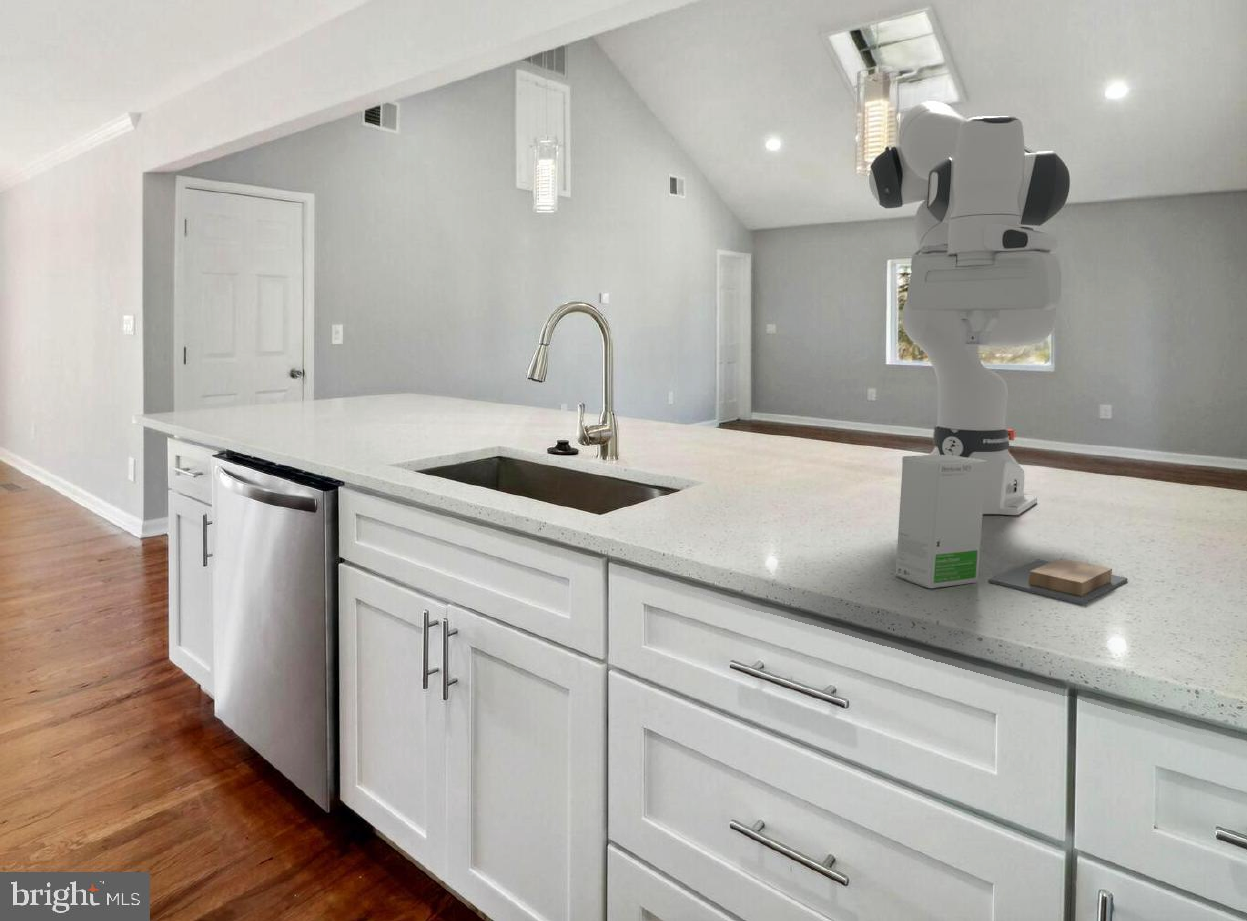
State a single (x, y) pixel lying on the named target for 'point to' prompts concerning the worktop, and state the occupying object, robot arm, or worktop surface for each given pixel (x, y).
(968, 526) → the skincare box
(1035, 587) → the slate mat
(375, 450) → the worktop surface
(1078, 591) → the walnut slab
